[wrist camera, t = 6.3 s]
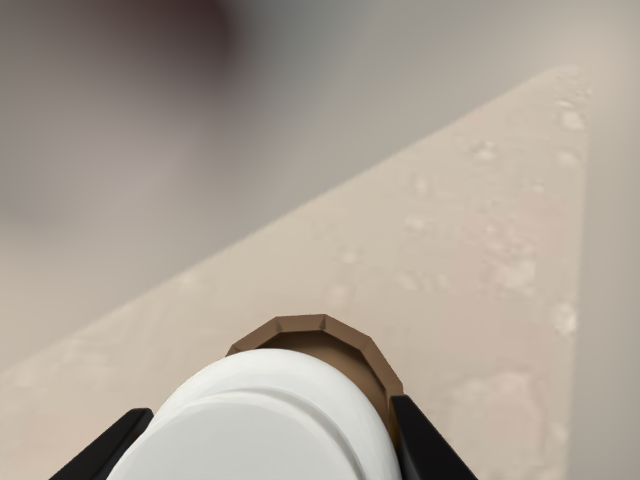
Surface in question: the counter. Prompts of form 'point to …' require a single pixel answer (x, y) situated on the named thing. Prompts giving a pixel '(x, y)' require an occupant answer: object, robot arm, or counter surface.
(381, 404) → the walnut tray
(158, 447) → the supplement bottle
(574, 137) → the counter surface
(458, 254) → the counter surface
